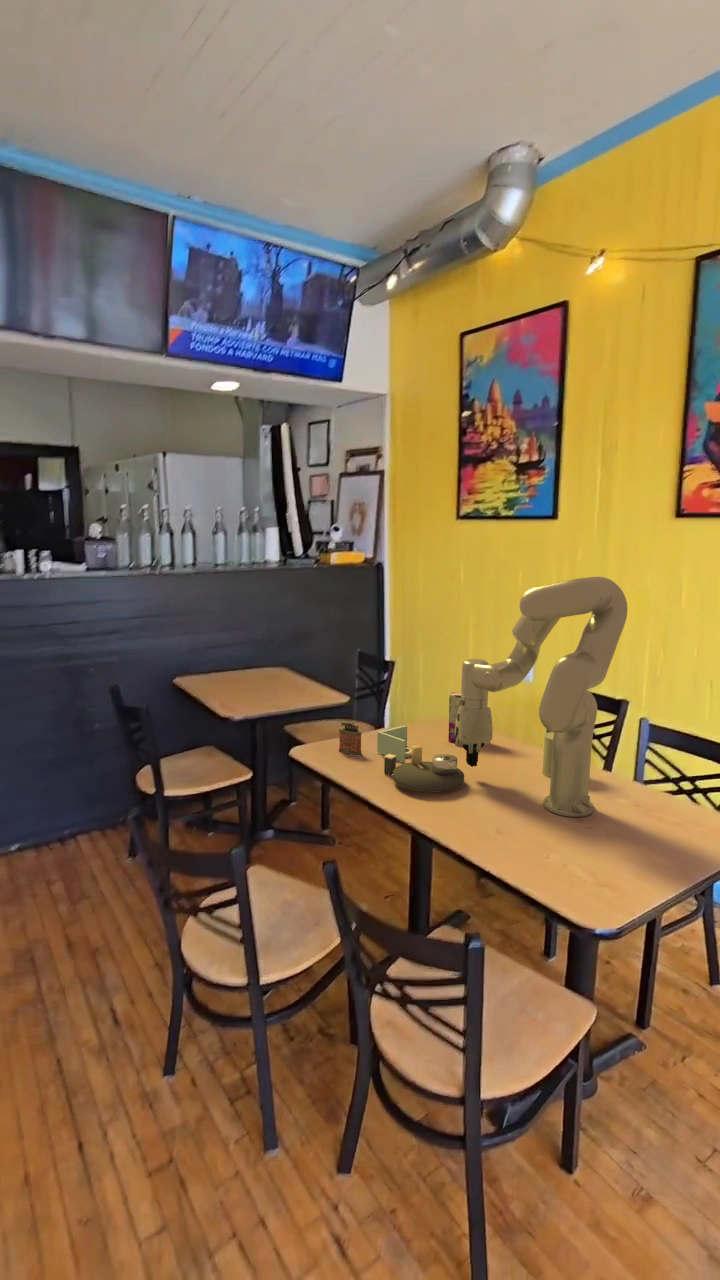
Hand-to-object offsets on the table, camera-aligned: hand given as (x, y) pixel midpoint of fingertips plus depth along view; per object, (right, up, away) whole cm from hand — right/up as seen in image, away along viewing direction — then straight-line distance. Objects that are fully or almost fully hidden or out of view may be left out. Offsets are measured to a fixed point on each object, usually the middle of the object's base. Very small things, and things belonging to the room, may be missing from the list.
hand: (471, 764), depth 196 cm
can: (+26, -4, +5) cm, 27 cm away
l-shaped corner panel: (-18, -1, +22) cm, 28 cm away
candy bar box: (+4, +1, +35) cm, 35 cm away
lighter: (-35, 0, +22) cm, 42 cm away
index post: (-23, -3, +4) cm, 24 cm away
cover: (-8, -2, -2) cm, 9 cm away
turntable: (-13, -3, -4) cm, 14 cm away
